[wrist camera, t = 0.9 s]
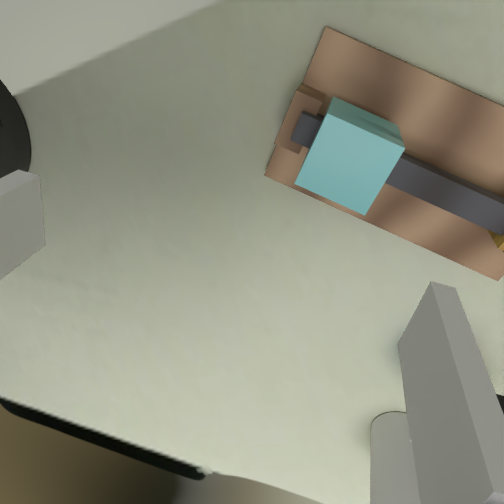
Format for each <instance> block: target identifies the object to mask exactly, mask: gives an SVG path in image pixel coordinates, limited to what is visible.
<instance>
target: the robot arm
mask: <svg viewBox="0 0 504 504" xmlns="http://www.w3.org/2000/svg"><path fill="white" fill-rule="evenodd" d="M29 162H30V141H29V135H28V131H27V127H26V124H25V121H24V118H23V116H22V114H21V111H20V109H19V107H18V105H17V103H16V102H15V100H14V98H13V96H12V95H11V93H10V92H9V91H8V89H7V88H6V86H5V85H4V84H3V83H2V81H1V80H0V280H1V279H2V278H3V277H5V276H6V275H7V274H8V273H10V272H11V271H12V270H14V269H15V268H16V267H18V266H19V265H20V264H21V263H23V262H24V261H25V260H27V259H28V258H29V257H30V256H32V255H33V254H34V253H36V252H37V251H38V250H39V249H41V248H42V247H43V246H45V245H46V243H45V232H44V220H43V209H42V198H41V187H40V176H39V175H36V174H33V173H29V172H27V171H28V167H29ZM398 350H399V357H400V364H401V371H402V378H403V385H404V392H405V399H406V406H407V413H408V420H409V427H410V433H411V440H412V447H413V454H414V461H415V468H416V475H417V482H418V489H419V496H420V503H421V504H504V396H501V395H498V394H496V393H495V390H494V388H493V385H492V383H491V380H490V377H489V375H488V372H487V370H486V367H485V364H484V362H483V359H482V356H481V354H480V351H479V349H478V346H477V343H476V341H475V338H474V335H473V333H472V330H471V328H470V325H469V322H468V320H467V317H466V314H465V312H464V309H463V307H462V304H461V301H460V299H459V296H458V293H457V291H456V288H454V287H450V286H446V285H443V284H439V283H435V282H430V284H429V286H428V288H427V290H426V291H425V293H424V295H423V297H422V299H421V301H420V303H419V305H418V307H417V309H416V310H415V312H414V314H413V316H412V318H411V320H410V322H409V324H408V326H407V328H406V330H405V331H404V333H403V335H402V337H401V339H400V341H399V343H398Z"/></svg>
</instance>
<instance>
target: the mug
mask: <svg viewBox="0 0 504 504" xmlns="http://www.w3.org/2000/svg"><path fill="white" fill-rule="evenodd" d="M370 504H421V503H420V496H419V489H418V482H417V475H416V468H415V461H414V454H413V447H412V443H411V442H410V438H409V430H408V421H407V413H402V412H389V413H385V414H382V415H380V416H378V417H377V418H376V419H375V420H374V421H373V423H372V425H371V468H370Z"/></svg>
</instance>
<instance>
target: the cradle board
mask: <svg viewBox="0 0 504 504" xmlns="http://www.w3.org/2000/svg"><path fill="white" fill-rule="evenodd" d="M333 96H334V97H336V98H338V99H341V100H343V101H345V102H347V103H349V104H352V105H354V106H356V107H358V108H361V109H363V110H365V111H367V112H369V113H372V114H374V115H376V116H378V117H380V118H383V119H385V120H387V121H389V122H392V123H394V124H396V125H398V128H399V131H400V134H401V137H402V140H403V143H404V146H405V150H404V151H403V153H402V155H401V156H400V158H399V160H398V161H397V163H396V165H395V166H394V168H393V170H392V171H391V173H390V175H389V176H388V178H387V180H386V181H385V183H384V185H383V186H382V188H381V190H380V191H379V193H378V195H377V196H376V198H375V200H374V201H373V203H372V205H371V206H370V208H369V210H368V211H367V213H366V215H362V214H360V213H358V212H356V211H354V210H351V209H349V208H347V207H345V206H342V205H340V204H338V203H336V202H334V201H331V200H329V199H327V198H325V197H323V196H320V195H318V194H316V193H314V192H312V191H309V190H307V189H305V188H303V187H300V186H298V185H296V184H294V183H295V181H296V178H297V176H298V173H299V171H300V168H301V166H302V163H303V161H304V158H305V156H306V154H307V152H308V149H310V147H311V145H312V143H313V140H314V138H315V136H316V134H317V132H318V130H319V127H320V125H321V123H322V121H323V119H324V116H325V114H326V111H327V109H328V106H329V104H330V102H331V100H332V98H333ZM274 144H276V147H275V150H274V152H273V155H272V157H271V159H270V162H269V164H268V167H267V169H266V171H265V174H264V175H265V176H267V177H269V178H271V179H273V180H276V181H278V182H280V183H282V184H284V185H287V186H289V187H291V188H293V189H296V190H298V191H300V192H302V193H304V194H307V195H309V196H311V197H313V198H315V199H318V200H320V201H322V202H324V203H326V204H329V205H331V206H333V207H335V208H337V209H340V210H342V211H344V212H346V213H349V214H351V215H353V216H355V217H357V218H360V219H362V220H364V221H366V222H368V223H371V224H373V225H375V226H377V227H379V228H382V229H384V230H386V231H388V232H390V233H393V234H395V235H397V236H399V237H402V238H404V239H406V240H408V241H410V242H413V243H415V244H417V245H419V246H421V247H424V248H426V249H428V250H430V251H432V252H435V253H437V254H439V255H441V256H443V257H446V258H448V259H450V260H452V261H455V262H457V263H459V264H461V265H463V266H466V267H468V268H470V269H472V270H474V271H477V272H479V273H481V274H483V275H485V276H488V277H490V278H492V279H494V280H496V281H499V279H500V278H501V277H502V276H503V275H504V106H503V105H500V104H498V103H496V102H494V101H492V100H489V99H487V98H485V97H483V96H481V95H478V94H476V93H474V92H472V91H469V90H467V89H465V88H463V87H461V86H458V85H456V84H454V83H452V82H449V81H447V80H445V79H443V78H441V77H438V76H436V75H434V74H432V73H429V72H427V71H425V70H423V69H421V68H418V67H416V66H414V65H412V64H409V63H407V62H405V61H403V60H401V59H398V58H396V57H394V56H392V55H390V54H387V53H385V52H383V51H381V50H378V49H376V48H374V47H372V46H370V45H367V44H365V43H363V42H361V41H358V40H356V39H354V38H352V37H350V36H347V35H345V34H343V33H341V32H338V31H336V30H334V29H332V28H330V27H325V30H324V32H323V35H322V37H321V39H320V42H319V44H318V47H317V49H316V51H315V54H314V56H313V59H312V61H311V63H310V66H309V68H308V71H307V73H306V75H305V78H304V80H303V83H302V84H301V85H300V86H299V87H298V89H297V90H296V92H295V94H294V97H293V99H292V101H291V104H290V106H289V109H288V111H287V114H286V116H285V118H284V121H283V123H282V126H281V128H280V131H279V133H278V135H277V138H276V140H275V143H274Z"/></svg>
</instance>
